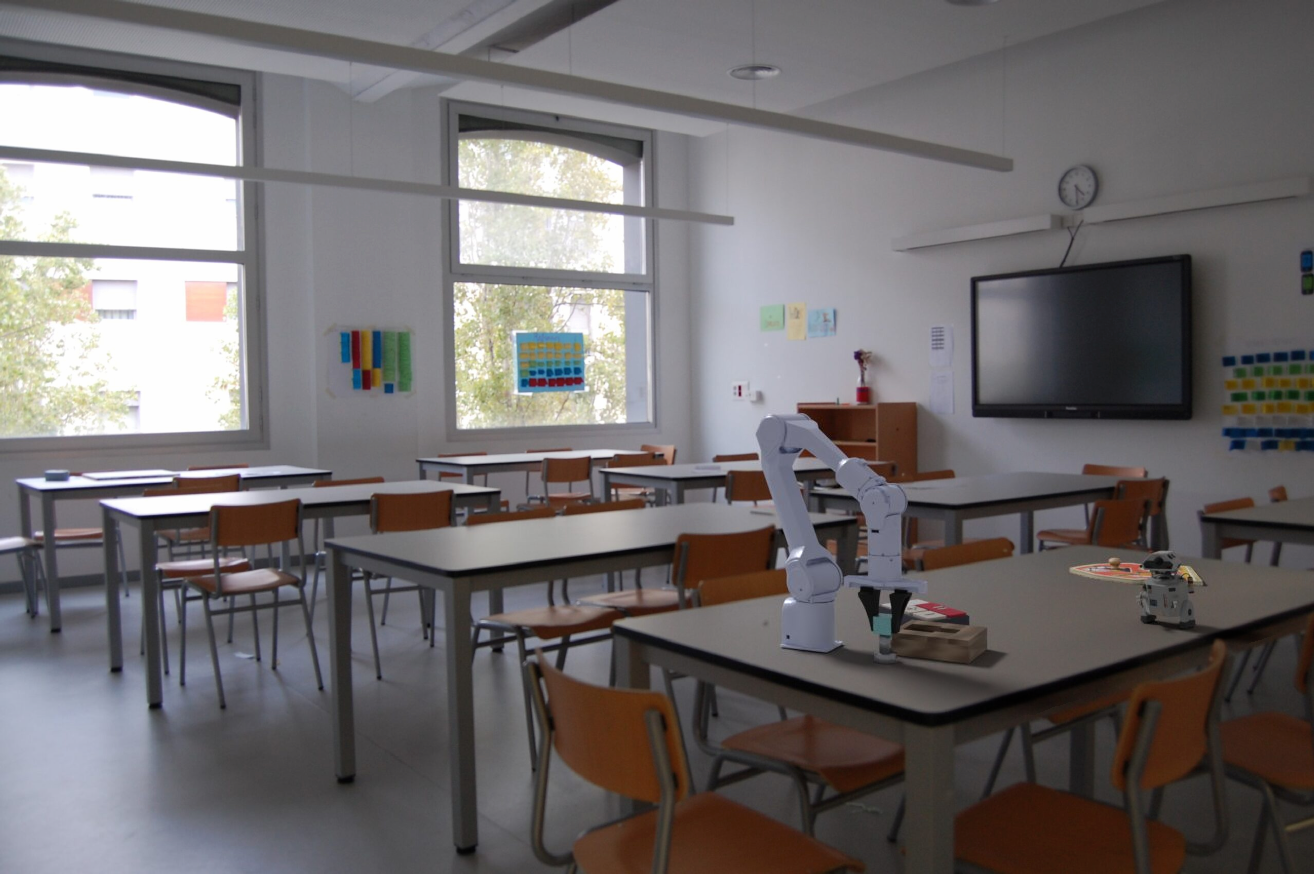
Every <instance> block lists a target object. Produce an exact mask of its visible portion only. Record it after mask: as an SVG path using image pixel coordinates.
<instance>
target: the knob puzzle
mask: <svg viewBox="0 0 1314 874" xmlns="http://www.w3.org/2000/svg"><path fill="white" fill-rule="evenodd" d="M1139 565H1141V563H1135V562H1122V560H1121V558H1118V557H1110V558H1109V559H1108V563H1091V564H1084V565H1083V564H1082V565H1077V566H1073V567H1072V566H1070V567H1069V573H1070V574H1074V575H1076V574H1077V575H1076V576H1080V575H1081V576H1080V577H1084V578H1088V577H1089V579H1092V578H1094V579H1093V580H1097V579H1100V580H1099V581H1107V582H1112V581H1114V583H1120V582H1122V583H1121V584H1127V583H1129V585H1142V583H1143V581H1145V580H1146V579H1148V578H1149V577H1151V576H1152V575H1151V573H1150V570H1144V569H1143V567H1142V568H1140V566H1139ZM1177 571H1178V572H1177V574H1176V576H1182V575H1183V574H1184V575H1183V576H1182V577H1184V578H1185V579H1186V580H1188V579H1187V577H1189V575H1190V577H1193V587H1203V586H1204V582H1203V581H1204V580H1202V579H1201V577H1200V576H1199V575H1198V574H1197V573H1196V572H1195V570H1194V569H1193V568H1192V566H1189V565H1181V566H1180V568H1179V569H1177ZM1185 573H1187V574H1185ZM1153 574H1154V573H1153ZM1188 574H1189V575H1188ZM1172 575H1174V573H1172ZM1187 585H1188V582H1187Z"/></svg>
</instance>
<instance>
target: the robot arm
mask: <svg viewBox="0 0 1314 874" xmlns="http://www.w3.org/2000/svg"><path fill="white" fill-rule="evenodd" d="M756 429H757V430H756V431H755V437H756V439H757V443H758V446H759V448H760V463H761V464H760V465H761V468H762V471H763V475H764V478H765V481H766V483H767V487H768V489H769V493H770V495H771V499H772V501H773V505H774V507H775V510H776V513H777V516H778V519H779V522H780V524H781V527H782V531H783V533H784V536H785V540H786V542H787V545H788V548H789V551H790V554H789V556H788V558H787V559H786V561H785V563H784V565H783V566H784V569H785V572H786V586H787V587H786V588H788V589H787V590H788V592H789V593H790V595H791V596H789V597H787V598H785V600H784V601H783V605H782V608H781V644H779V646H780V648H785V649H794V650H795V649H796V650H801V651H803V650H804V651H811V652H817V653H818V652H819V653H820V652H821V653H829V652H831V651H833V650H835V649H836V648H838V647H840V646H842V645H843V644H844V641H842V640H836V608H835V607H836V602H835V601H836V599H837V596H838V595H837V593H838V592H839V591H840V589H841V588H842V586H843V588H846V589H847V588H848V589H849V588H852V589H853V588H854V589H855V588H856V589H857V588H858V589H859V591H858V592H857V596H858V599H859V601H860V602H861V604H862V605H863V609H864V610H865V613H866V615H867V618H868V623H869V626H870V627H869V628H870V632H873V616H875V615H877V614H879V606H880V600H881V599H880V598H881V592H882V591H889V592H890V591H891V593H890V594H889V603H891V612H892V634H897V633H898V632H900V627H901V622H902V618H903V615H904V612H905V609H906V607H907V604H908V602H909V600H911V598H912V597H913V593H914V594H918V595H925V594H928V581H924V580H916V579H911V578H903V576H902V514H904V513H905V511H906V510H907V507H908V495H907V494H906V491H905V490H904V489H903V488H902V486H901V485H900V484H899V483H898V484H897V483H889V482H887V481H886V480H887V479H886V478H885V477H884V476H881V475H878V474H877V472H875V471H874V470H873V469H872V468H870V466H868V461H867V460H865V458H859V457H850V458H849V457H848V456H847V455H846V454H845V453H844V452H843V451H842V450H841V449H840V448H839V447H838V446H837V445H836V444H835V443H833V441H832V440H831V439H830V438H829V437H827V435H826V434H825V433H824V432H823V431H822V430H821V429H819V425H818V422H816V421H814V420H813V419H811V417H810V416H809V415H807V414H806V413H802V412H801V413H795V414H794V413H793V414H789V413H788V414H776V413H769V414H767V415H764V416H763V417H762V419H761V420H760V422H759V424H758V427H757V428H756ZM804 450H806V451H808V452H809V453H810V454H811V455H813V456H815V457H816V458H817V459H818V460H819V461H821V462H822V463H823V464H825V465H826V466H827V467H829V468H830V469H831V470H832V471H833V472H834V473H835V481H836V483H838V485H840V487H842V488H843V489H844V490H845V491H846V492H847V493H848V494H850V495H851V496H852V497H853V499H855V500H857V502H858V503H859V505H860V506H859V507H860V510H861V512H862V514H863V516H864V517H865V525H866V527H867V575H849V574H848V575H846V576H843V572H842V570H841V568H840V566H839V565H838V564H837V563H836V561H835V560H834V558H833V556H832V555H833V554H832V553H831V552H830V551H829V550H828V549H827V548H825V547H824V546H823V545H821V544H820V543H819V540H818V537H817V534H816V532H815V528H814V525H813V523H812V520H811V517H810V515H809V512H808V509H807V505H806V503H805V500H804V497H803V494H802V491H801V489H800V486H799V483H798V480H797V477H796V474H795V471H794V468H793V465H794V463H795V462H796V460H797V459H798V458H799V456H800V455H801V454H802V453H803V451H804Z"/></svg>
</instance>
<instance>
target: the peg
mask: <svg viewBox="0 0 1314 874" xmlns="http://www.w3.org/2000/svg"><path fill="white" fill-rule="evenodd" d="M872 633H873V634H874V635H878V650H874V651H873V662H874V663H876V664H881V665H894V664H897V663H898V655H897V652H895V651H892V635H893V634H892V614H883V613H879V614H877V615H875V616H873V631H872Z"/></svg>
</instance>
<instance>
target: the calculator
mask: <svg viewBox="0 0 1314 874" xmlns="http://www.w3.org/2000/svg"><path fill="white" fill-rule="evenodd" d="M879 613H883V614H892V612H891V603H890V602H889V603H882V604H881V605H880V604H879ZM911 620H920V621H929V622H939V623H949V624H959V625H969V626H970V615H968V614H967V612H965V611H962V610H958V609H955V608H951V607H948V606H945V605H941V604H938V603H935V602H929V601H925V600H922V599H920V598H917V599H910V600H909V602H908V604H907V607H906V609H905V612H904V615H903V618H902V622H901V626H902V625H903V624H905V623H907V622H909V621H911Z"/></svg>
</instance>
